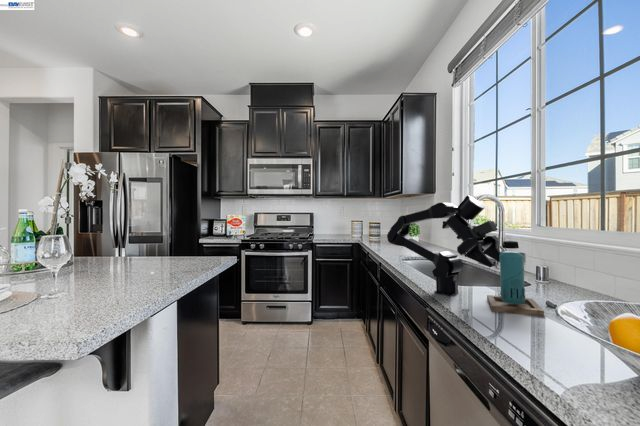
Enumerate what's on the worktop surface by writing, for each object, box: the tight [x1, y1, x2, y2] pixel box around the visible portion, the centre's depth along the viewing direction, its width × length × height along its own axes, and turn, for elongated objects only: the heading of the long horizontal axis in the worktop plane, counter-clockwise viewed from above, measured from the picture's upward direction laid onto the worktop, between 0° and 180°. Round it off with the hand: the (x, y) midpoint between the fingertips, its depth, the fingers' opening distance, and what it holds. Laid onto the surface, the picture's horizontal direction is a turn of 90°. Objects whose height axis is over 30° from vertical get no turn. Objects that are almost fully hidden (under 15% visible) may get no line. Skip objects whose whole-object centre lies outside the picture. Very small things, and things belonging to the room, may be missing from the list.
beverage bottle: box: [499, 240, 526, 304], centre depth 88 cm, size 6×7×20 cm
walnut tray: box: [486, 294, 545, 318], centre depth 88 cm, size 13×13×2 cm
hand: (498, 264), depth 91 cm, fingers open, 9 cm apart
